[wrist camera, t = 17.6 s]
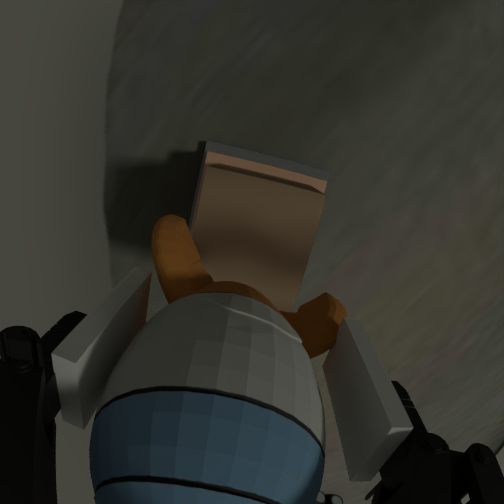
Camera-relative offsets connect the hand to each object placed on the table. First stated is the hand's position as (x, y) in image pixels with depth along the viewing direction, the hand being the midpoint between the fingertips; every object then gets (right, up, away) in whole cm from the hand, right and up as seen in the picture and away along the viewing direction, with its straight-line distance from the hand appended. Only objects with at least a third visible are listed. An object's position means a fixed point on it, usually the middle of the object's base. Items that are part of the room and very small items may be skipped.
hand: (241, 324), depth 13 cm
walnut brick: (+1, +6, +19) cm, 20 cm away
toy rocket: (-1, +2, +4) cm, 4 cm away
